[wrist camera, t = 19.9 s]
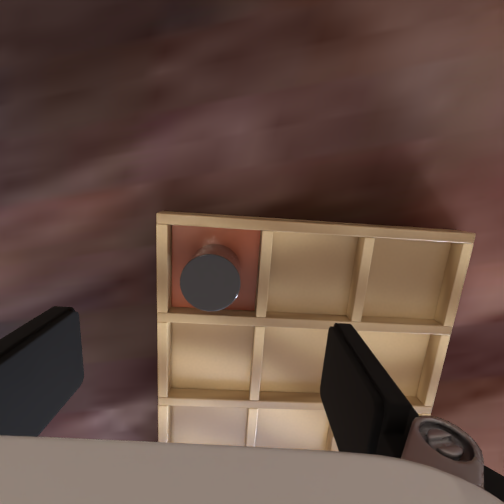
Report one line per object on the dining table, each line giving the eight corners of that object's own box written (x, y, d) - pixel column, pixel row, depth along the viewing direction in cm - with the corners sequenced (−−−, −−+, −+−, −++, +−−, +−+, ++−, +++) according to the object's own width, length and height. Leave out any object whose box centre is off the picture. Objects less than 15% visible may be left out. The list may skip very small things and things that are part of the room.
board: (163, 210, 21) (155, 212, 19) (458, 229, 22) (476, 233, 20) (164, 458, 26) (158, 477, 24) (403, 463, 27) (414, 482, 26)
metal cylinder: (190, 242, 21) (179, 252, 17) (242, 245, 21) (242, 256, 18) (189, 291, 22) (179, 310, 18) (239, 294, 22) (238, 313, 19)
